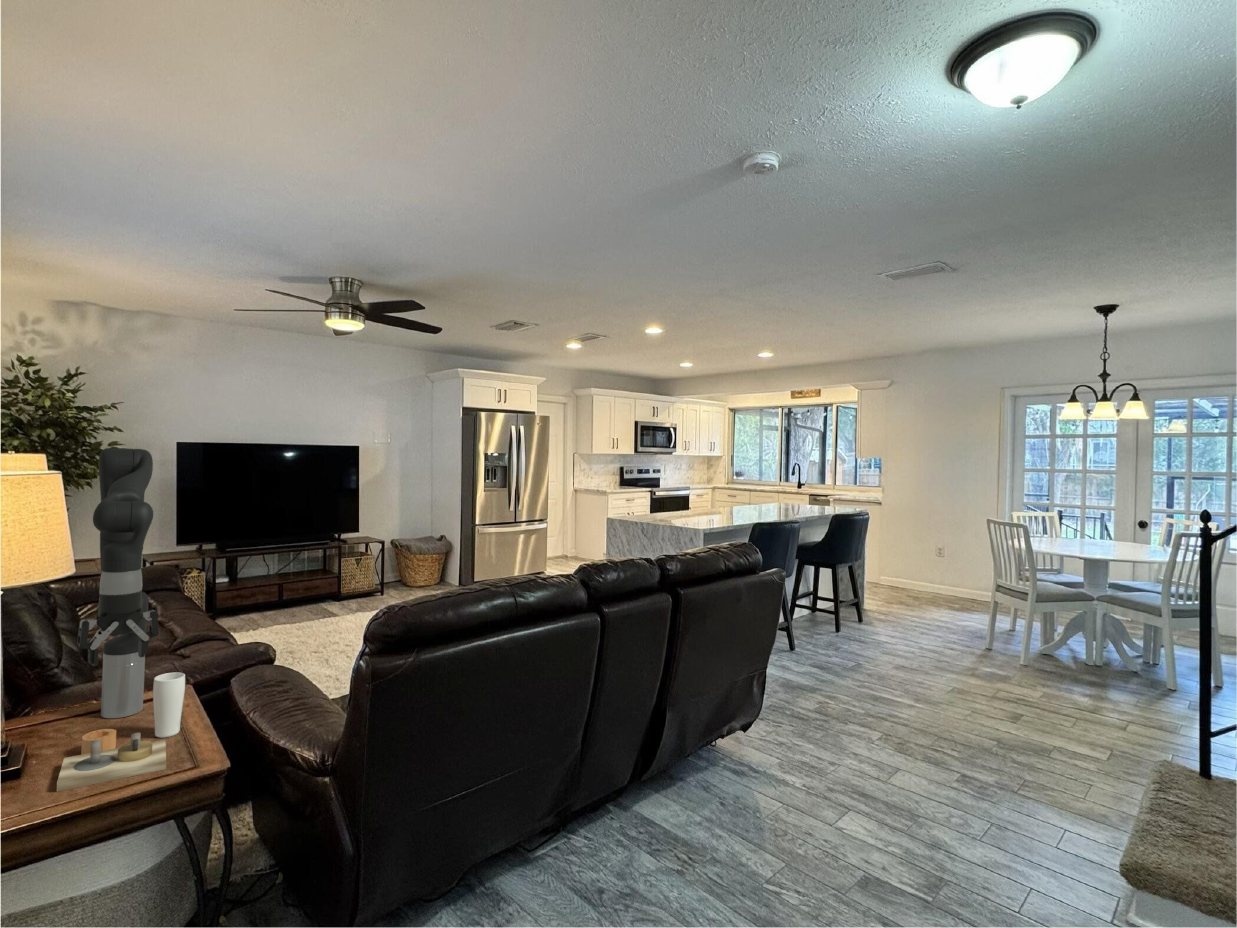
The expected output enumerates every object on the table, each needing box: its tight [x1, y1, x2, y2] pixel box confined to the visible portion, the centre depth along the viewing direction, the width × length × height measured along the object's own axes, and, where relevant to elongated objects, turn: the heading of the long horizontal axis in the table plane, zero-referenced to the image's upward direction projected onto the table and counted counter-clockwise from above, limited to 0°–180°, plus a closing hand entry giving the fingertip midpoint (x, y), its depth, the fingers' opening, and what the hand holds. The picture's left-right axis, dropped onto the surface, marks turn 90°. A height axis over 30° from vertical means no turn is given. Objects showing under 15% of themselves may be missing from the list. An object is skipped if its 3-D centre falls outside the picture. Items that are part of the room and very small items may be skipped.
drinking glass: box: [152, 671, 186, 739], centre depth 163 cm, size 7×7×15 cm
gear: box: [80, 728, 117, 755], centre depth 153 cm, size 6×6×4 cm
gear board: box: [56, 732, 167, 792], centre depth 145 cm, size 13×19×7 cm
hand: (118, 660), depth 142 cm, fingers open, 8 cm apart
